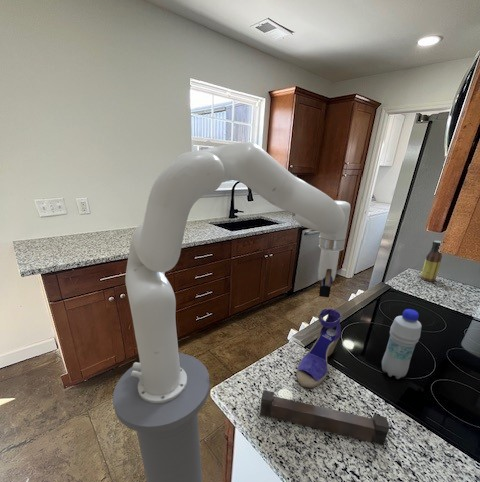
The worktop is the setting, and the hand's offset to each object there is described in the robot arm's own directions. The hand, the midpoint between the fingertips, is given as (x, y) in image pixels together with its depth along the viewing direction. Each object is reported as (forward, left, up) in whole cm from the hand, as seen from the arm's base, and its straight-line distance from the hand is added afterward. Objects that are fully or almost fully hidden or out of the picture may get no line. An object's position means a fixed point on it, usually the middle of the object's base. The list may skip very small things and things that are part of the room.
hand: (324, 295), depth 88 cm
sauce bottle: (+53, +59, -13) cm, 80 cm away
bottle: (+20, -16, -13) cm, 29 cm away
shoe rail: (0, -38, -13) cm, 40 cm away
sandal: (0, -19, -13) cm, 23 cm away
